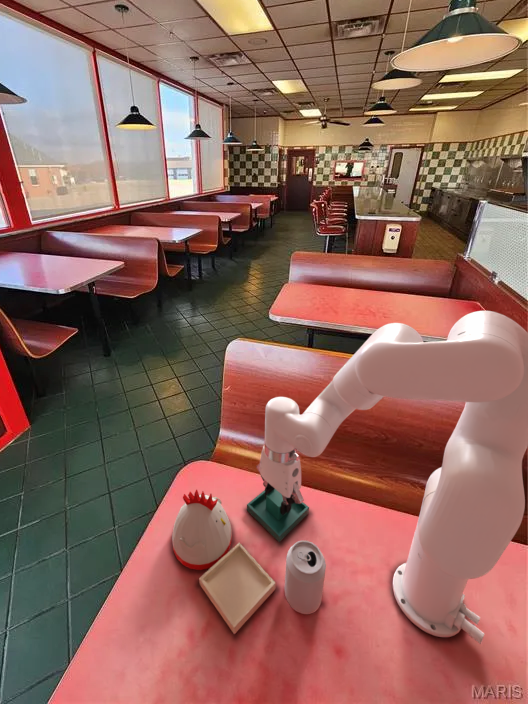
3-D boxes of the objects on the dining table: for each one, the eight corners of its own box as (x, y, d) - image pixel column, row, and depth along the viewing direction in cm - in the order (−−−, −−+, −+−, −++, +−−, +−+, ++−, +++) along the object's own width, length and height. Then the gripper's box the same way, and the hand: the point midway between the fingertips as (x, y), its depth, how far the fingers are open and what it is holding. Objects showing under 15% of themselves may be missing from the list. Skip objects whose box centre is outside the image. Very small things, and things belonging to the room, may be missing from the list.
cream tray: (275, 589, 68) (275, 582, 67) (234, 634, 61) (234, 627, 60) (239, 548, 76) (239, 542, 75) (199, 584, 69) (198, 578, 68)
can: (322, 621, 63) (327, 581, 58) (282, 612, 64) (285, 572, 60) (321, 578, 70) (326, 540, 65) (285, 571, 71) (288, 533, 67)
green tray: (308, 513, 84) (309, 507, 83) (279, 542, 77) (279, 536, 76) (276, 486, 92) (276, 480, 91) (246, 510, 85) (246, 504, 84)
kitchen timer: (220, 577, 70) (218, 528, 64) (162, 560, 73) (155, 512, 68) (238, 518, 82) (237, 473, 77) (187, 506, 86) (183, 462, 80)
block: (290, 509, 84) (291, 496, 82) (278, 520, 81) (279, 507, 80) (277, 498, 87) (278, 485, 86) (265, 508, 84) (266, 495, 83)
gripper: (320, 460, 73) (314, 518, 80) (265, 422, 85) (264, 475, 92) (298, 478, 68) (294, 538, 75) (244, 436, 80) (244, 491, 87)
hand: (277, 503), depth 83 cm, fingers open, 4 cm apart
